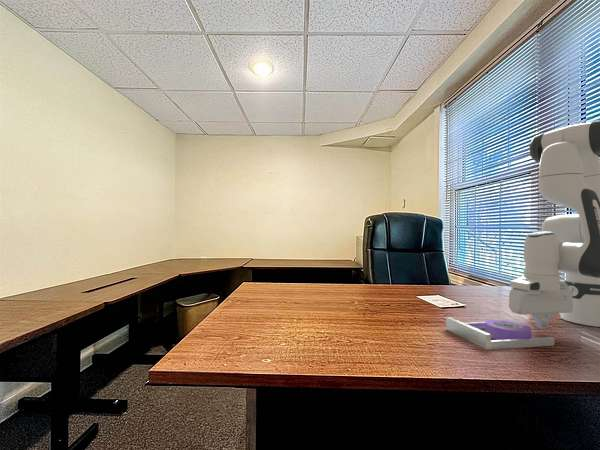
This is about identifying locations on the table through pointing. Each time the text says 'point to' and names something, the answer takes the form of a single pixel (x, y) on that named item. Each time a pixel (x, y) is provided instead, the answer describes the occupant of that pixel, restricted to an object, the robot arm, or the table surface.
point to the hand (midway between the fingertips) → (541, 327)
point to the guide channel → (484, 339)
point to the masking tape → (507, 330)
